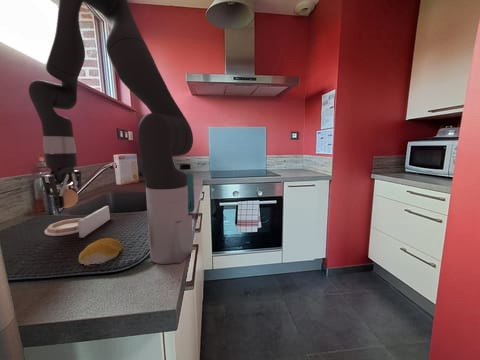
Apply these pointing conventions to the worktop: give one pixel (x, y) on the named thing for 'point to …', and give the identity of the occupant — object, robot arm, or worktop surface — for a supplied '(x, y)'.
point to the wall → (93, 221)
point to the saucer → (63, 227)
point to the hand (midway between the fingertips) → (67, 205)
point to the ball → (69, 198)
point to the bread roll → (100, 251)
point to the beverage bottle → (189, 186)
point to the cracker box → (126, 169)
